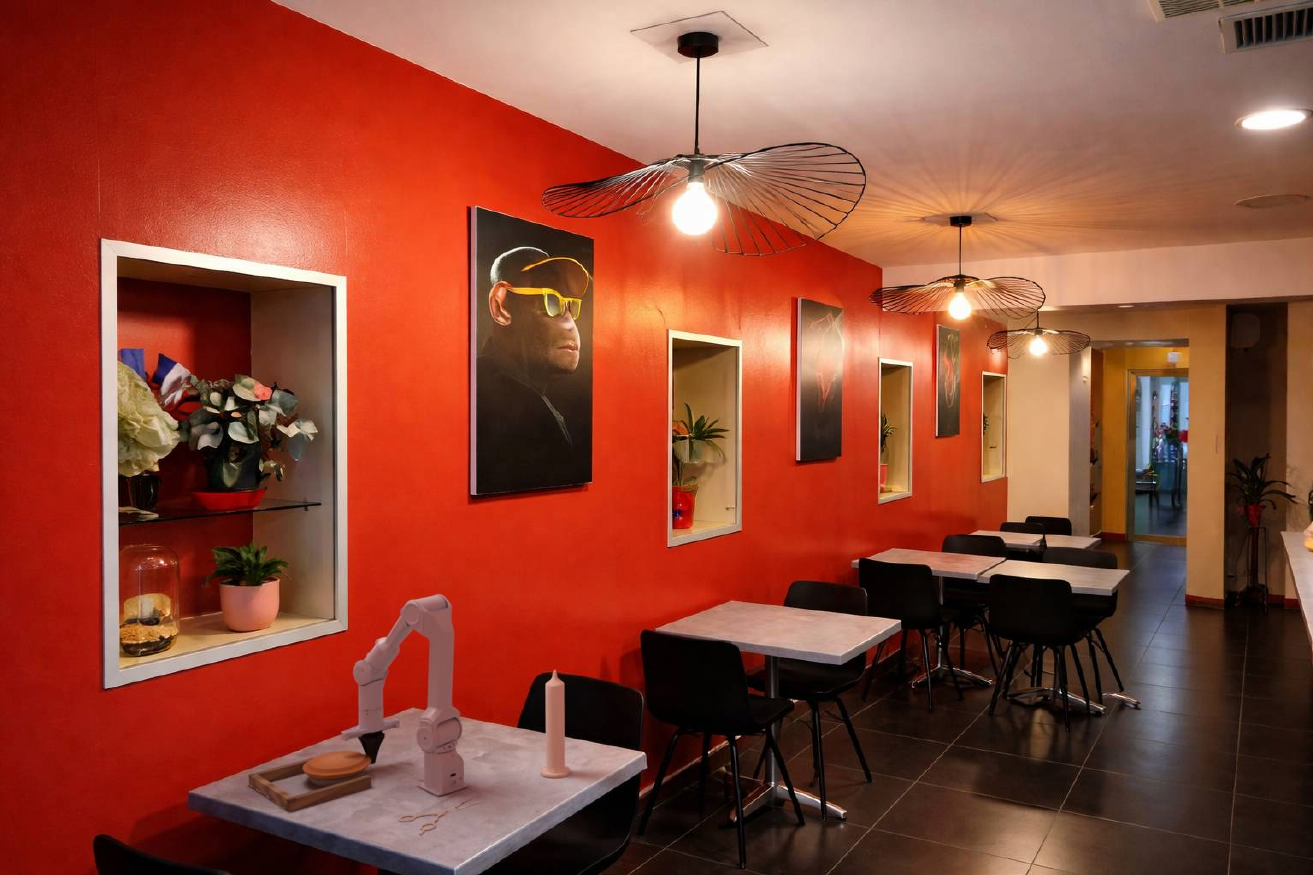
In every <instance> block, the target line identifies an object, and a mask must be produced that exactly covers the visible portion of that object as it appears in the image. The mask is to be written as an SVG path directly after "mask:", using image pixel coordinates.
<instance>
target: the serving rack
mask: <svg viewBox="0 0 1313 875" xmlns="http://www.w3.org/2000/svg"><path fill="white" fill-rule="evenodd" d="M315 757H316V756H314V757H310V758H306V759H302V760H299V761H295V762H290V763H287V764H284V765H280V766H277V767H273V768H269V769H265V770H261V771H258V772H253V773H250V774H248V786H249V785H251V786H252V787H253V788H252V787H251V786H250V787H251V788H252V789H254V788H255V789H257V790H258V791H260V792H261V793H263V794H264V795H266V796H268V797H269V798H270V799H269V798H268V799H269V800H271V801H272V800H273V801H272V802H274V801H275V802H276V803H275V802H274V803H275V804H277V803H278V804H279V807H281V808H283V807H284V808H285V809H284V808H283V809H284V810H286V811H288V812H294V811H297V810H299V809H303V808H307V807H309V806H313V805H316V804H317V805H318V804H320V803H324V802H327V801H330V800H333V799H337V798H340V797H344V796H347V795H349V794H350V795H351V794H353V793H356V792H360V791H363V790H366V789H370V788H372V775H370V774H367V775H362V777H359V778H356V779H352V780H349V781H345V782H342V783H338V784H335V785H331V786H328V787H322V788H318V789H314V790H311V791H308V792H304V793H301V794H298V795H291V794H289V793H288V792H287V791H285V790H283V789H282V788H280V787H278V786H276V785H275V784H273V783H272V782H274V780H275V781H278V780H282V779H286V778H289V777H293V776H296V775H300V774H304V773H305V772H304V771H303V766H304V764H306V763H307V762H308V761H310V760H312V759H313V758H315ZM270 781H271V782H270ZM255 789H254V790H255ZM257 790H256V791H257ZM258 791H257V792H258ZM260 792H259V793H260ZM261 793H260V794H261ZM263 794H262V795H263ZM264 795H263V796H264ZM266 796H265V797H266ZM278 804H277V805H278Z"/></svg>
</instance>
